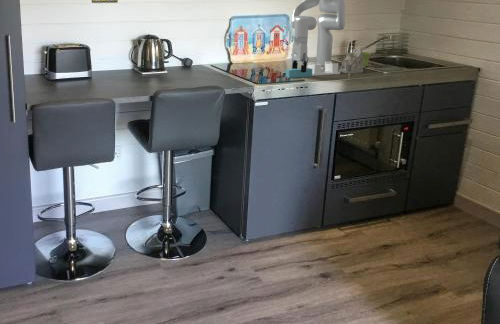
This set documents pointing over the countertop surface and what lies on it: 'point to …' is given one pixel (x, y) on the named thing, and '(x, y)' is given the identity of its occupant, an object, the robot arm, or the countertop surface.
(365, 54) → the plant pot
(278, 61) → the countertop surface
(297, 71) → the teal rectangular stick
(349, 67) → the grey irregular blocky piece
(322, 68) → the display cradle
